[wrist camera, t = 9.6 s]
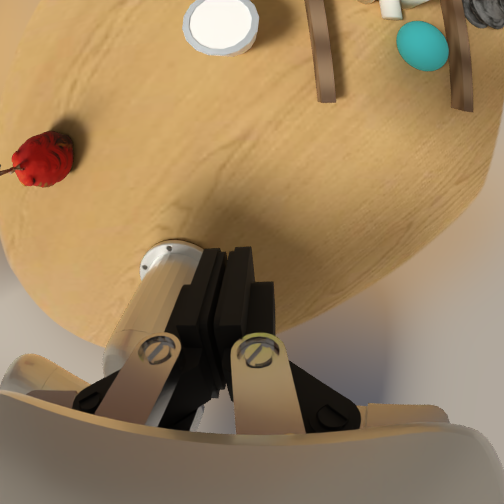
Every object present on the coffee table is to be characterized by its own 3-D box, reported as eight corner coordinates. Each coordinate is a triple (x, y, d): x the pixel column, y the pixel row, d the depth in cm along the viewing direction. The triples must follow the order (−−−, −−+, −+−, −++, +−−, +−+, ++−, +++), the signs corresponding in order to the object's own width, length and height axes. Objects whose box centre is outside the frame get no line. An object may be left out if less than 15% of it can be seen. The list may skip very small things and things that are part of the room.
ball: (421, 33, 24) (420, 76, 26) (385, 16, 22) (384, 62, 25) (458, 32, 19) (458, 79, 21) (423, 10, 17) (424, 62, 20)
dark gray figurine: (494, 34, 20) (553, 34, 10) (463, 25, 21) (523, 19, 10) (485, -3, 17) (540, -12, 7) (453, -13, 18) (507, -30, 8)
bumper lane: (460, 109, 27) (473, 112, 24) (317, 101, 29) (321, 103, 27) (432, -57, 14) (442, -63, 12) (287, -77, 17) (288, -88, 14)
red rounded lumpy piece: (36, 148, 33) (-36, 186, 21) (59, 116, 31) (-21, 145, 18) (63, 184, 36) (-5, 234, 24) (88, 155, 34) (13, 198, 21)
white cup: (270, 15, 24) (269, -2, 18) (251, 68, 28) (245, 63, 22) (210, 3, 24) (194, -15, 18) (192, 55, 27) (172, 48, 21)
